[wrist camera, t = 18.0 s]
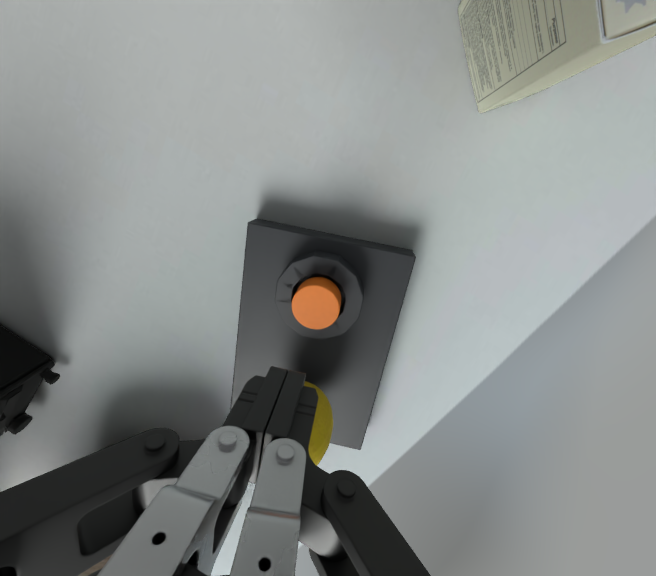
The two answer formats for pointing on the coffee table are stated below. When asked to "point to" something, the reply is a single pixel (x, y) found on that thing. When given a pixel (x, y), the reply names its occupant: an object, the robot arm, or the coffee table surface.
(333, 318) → the button
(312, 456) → the lemon
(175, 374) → the coffee table surface
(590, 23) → the cosmetic box
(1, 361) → the camera
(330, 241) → the dark grey base plate
